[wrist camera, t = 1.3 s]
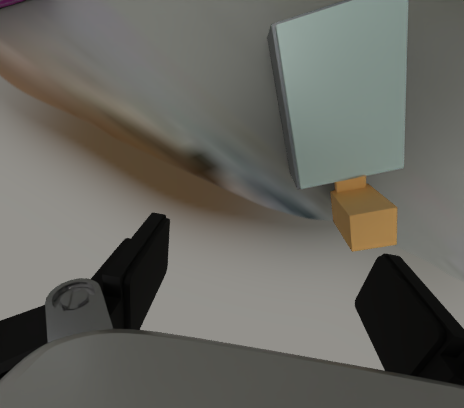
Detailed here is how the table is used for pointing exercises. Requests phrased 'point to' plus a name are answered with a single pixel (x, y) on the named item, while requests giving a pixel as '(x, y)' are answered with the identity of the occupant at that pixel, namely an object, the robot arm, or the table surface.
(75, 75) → the table surface
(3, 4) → the candy bar box
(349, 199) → the tool with wooden handle
